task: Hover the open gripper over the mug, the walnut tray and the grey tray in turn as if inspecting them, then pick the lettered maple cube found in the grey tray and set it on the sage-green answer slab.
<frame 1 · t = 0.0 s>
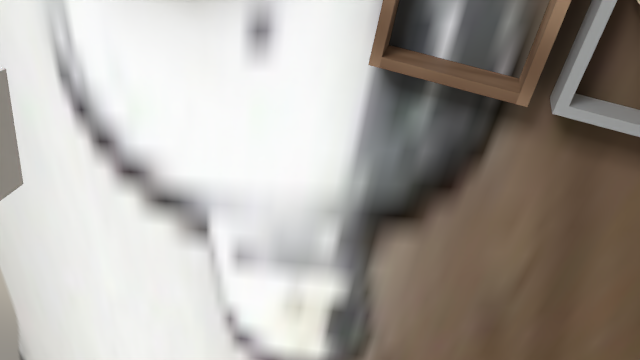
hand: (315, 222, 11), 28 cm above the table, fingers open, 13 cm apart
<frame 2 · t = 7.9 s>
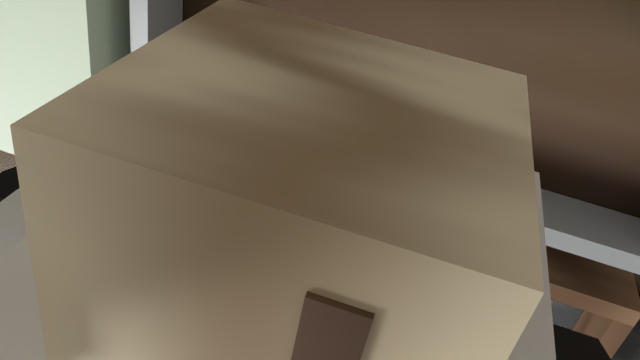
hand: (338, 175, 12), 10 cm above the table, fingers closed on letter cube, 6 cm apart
tray grey: (425, 40, 20), on the table
tray walnut: (358, 277, 26), on the table
letter cube: (302, 248, 10), point 12 cm above the table, touching gripper
answer slab: (37, 9, 24), on the table
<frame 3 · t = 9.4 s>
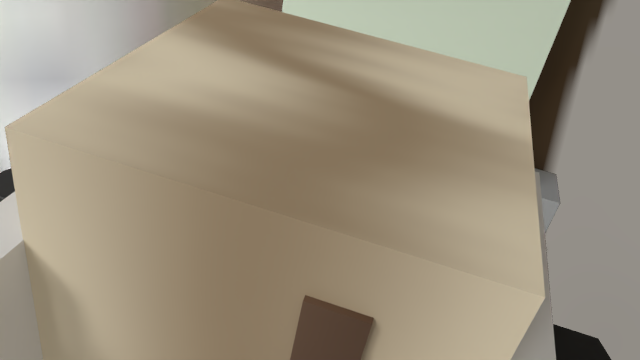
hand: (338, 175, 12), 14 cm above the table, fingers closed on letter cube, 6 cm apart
tray grey: (398, 292, 32), on the table
letter cube: (301, 250, 10), point 17 cm above the table, touching gripper
answer slab: (422, 3, 24), on the table
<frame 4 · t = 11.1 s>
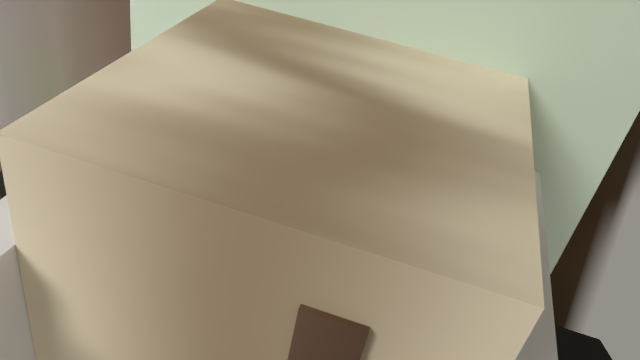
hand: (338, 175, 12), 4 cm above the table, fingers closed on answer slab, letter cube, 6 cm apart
letter cube: (299, 254, 10), point 6 cm above the table, touching answer slab, gripper
answer slab: (372, 98, 15), on the table
when the fingers open (4 cm above the table, at t = 11.7 s): letter cube stays where it is, resting on answer slab.
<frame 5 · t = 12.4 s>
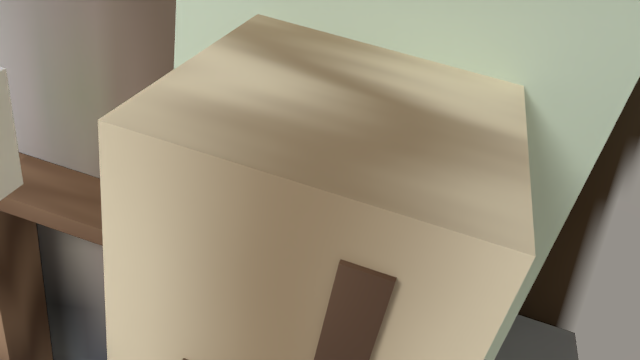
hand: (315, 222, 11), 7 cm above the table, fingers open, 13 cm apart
letter cube: (326, 235, 11), on the answer slab, point 6 cm above the table
answer slab: (384, 105, 17), on the table
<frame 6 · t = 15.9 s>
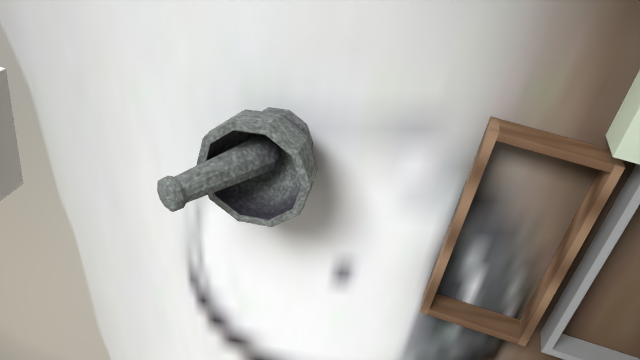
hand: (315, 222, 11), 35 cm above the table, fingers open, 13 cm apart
tray walnut: (509, 232, 50), on the table
mortar and pestle: (273, 136, 52), on the table
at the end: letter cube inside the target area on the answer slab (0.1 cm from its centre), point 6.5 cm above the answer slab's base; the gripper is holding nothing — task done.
